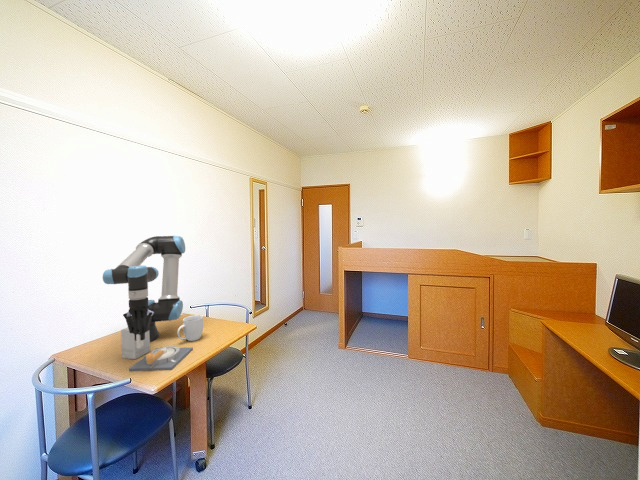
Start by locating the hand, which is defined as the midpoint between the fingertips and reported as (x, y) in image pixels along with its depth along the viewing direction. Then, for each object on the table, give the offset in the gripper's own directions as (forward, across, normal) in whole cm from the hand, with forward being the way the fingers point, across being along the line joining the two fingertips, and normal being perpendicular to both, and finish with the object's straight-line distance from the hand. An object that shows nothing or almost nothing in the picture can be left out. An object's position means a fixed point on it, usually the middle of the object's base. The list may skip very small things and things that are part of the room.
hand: (140, 346), depth 117 cm
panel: (+10, +7, +7) cm, 14 cm away
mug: (+10, +12, +30) cm, 34 cm away
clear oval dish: (+9, +6, +4) cm, 12 cm away
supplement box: (+10, -11, +15) cm, 21 cm away
